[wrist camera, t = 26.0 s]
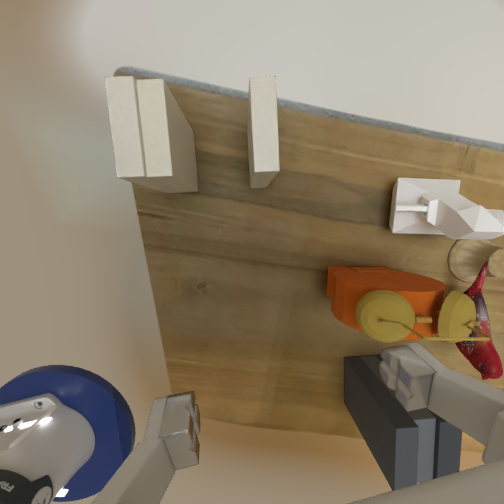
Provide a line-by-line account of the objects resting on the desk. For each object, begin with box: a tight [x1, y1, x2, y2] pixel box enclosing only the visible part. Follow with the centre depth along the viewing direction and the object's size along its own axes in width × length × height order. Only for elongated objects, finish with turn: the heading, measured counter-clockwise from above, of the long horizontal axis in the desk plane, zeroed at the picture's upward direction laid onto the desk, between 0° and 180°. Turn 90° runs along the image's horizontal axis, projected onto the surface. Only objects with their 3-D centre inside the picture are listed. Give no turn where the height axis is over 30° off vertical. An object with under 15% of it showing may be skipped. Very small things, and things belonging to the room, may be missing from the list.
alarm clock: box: [326, 266, 490, 343], centre depth 32 cm, size 13×6×20 cm, turn 89°
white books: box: [105, 76, 198, 193], centre depth 31 cm, size 5×9×15 cm, turn 3°
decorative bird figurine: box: [456, 261, 503, 380], centre depth 38 cm, size 3×18×10 cm, turn 0°
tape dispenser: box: [389, 178, 504, 240], centre depth 33 cm, size 8×14×14 cm, turn 88°
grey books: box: [344, 355, 462, 491], centre depth 37 cm, size 8×9×15 cm
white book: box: [247, 76, 280, 189], centre depth 31 cm, size 3×9×14 cm, turn 3°
